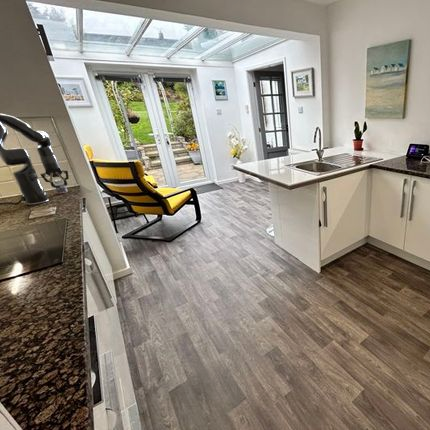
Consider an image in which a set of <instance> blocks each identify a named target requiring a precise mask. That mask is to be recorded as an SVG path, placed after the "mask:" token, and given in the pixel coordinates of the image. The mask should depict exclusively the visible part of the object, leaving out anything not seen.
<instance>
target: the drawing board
mask: <svg viewBox="0 0 430 430" xmlns="http://www.w3.org/2000/svg"><path fill="white" fill-rule="evenodd" d="M56 213H57V206H51V207H46V208H40V209H34V210H31V212H30V215H29V216H28V220H30V221H31V220H34V219H40V218H44V217H50V216H54V215H55V216H56Z"/></svg>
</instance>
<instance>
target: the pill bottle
mask: <svg viewBox="0 0 430 430" xmlns="http://www.w3.org/2000/svg"><path fill="white" fill-rule="evenodd" d="M53 183H54V186H55V188H54V189H55V190H56V193H57V194H66V193H68V192H69V191H68V189H67V186H65V184H64V182H63V179H55V180H53Z"/></svg>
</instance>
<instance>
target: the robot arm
mask: <svg viewBox="0 0 430 430" xmlns="http://www.w3.org/2000/svg"><path fill="white" fill-rule="evenodd" d="M7 127H8V128H9V129H12V130H13V131H15V132H17V133H19V134H20V135H22V136H23V137H25V138H26V139H27V140H29V141H31V142H33V143H36V144H37V147H36V151H37V154H38V156H39V160H40V162H41V165H42V166H43V168H44V171H45V172H42V173H40V176H41V178H42V179H43V181H44V182H45V183H50V185H51V188H53V189H56V188H55V186H54V184H55V183H54V180H53V178H60V179H61V180H62V182H63V183H64V184H65V186H66V187H67V186H68V182H67V180H69V179H70V177H69V176H70V175H69V171H68V170H67V169H66V170H62V168H61V166H60V164H59V162H58V159H57V157H56V155H55V153H54V151H53V149H52V141H51V137H50V136H49V134H48V133H47V132H45V131H42V130H35V129H33V128H31V126H30V124H28V123H26V122H24V121H23V120H21V119H20V118H17V117H15V116H12V115H9V114H5V113H0V159H1V161H2V162H3V163H4V164H5V165H6V166H9V167H10V166H11V167H13V166H20V165H23V166H22V167H21V168H19V169H18V170H15V171H14V172H12V174H13V177H14V179H15V181H16V183H17V185H18V187H19V190H20V192H21V194H22V195H21V196H20V199H19V200H18V201H17V202H12V201H11V202H10V201H7V202H5V201H4V202H0V205H6V204H9V205H18V204H21V203H22V202H26V204H27V205H28V206H34V205H41V204H45V203H48V202H49V201H50V199H49V198H48V196H47V192H46V191H45V189H44V187H43V185H42V183H41V181H40V179H39V176H38V174H37V172H36V169H35V166H34V165H33V162H32V160H31V156H30V154H29V153H28V151H27V150H26V149H25V148H23V147H14V148H5V143H6V140H7V138H8V135H9V132H8V129H7ZM62 174H64V175H65V176H63V175H62ZM46 176H49V179H48V178H47V177H46Z"/></svg>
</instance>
